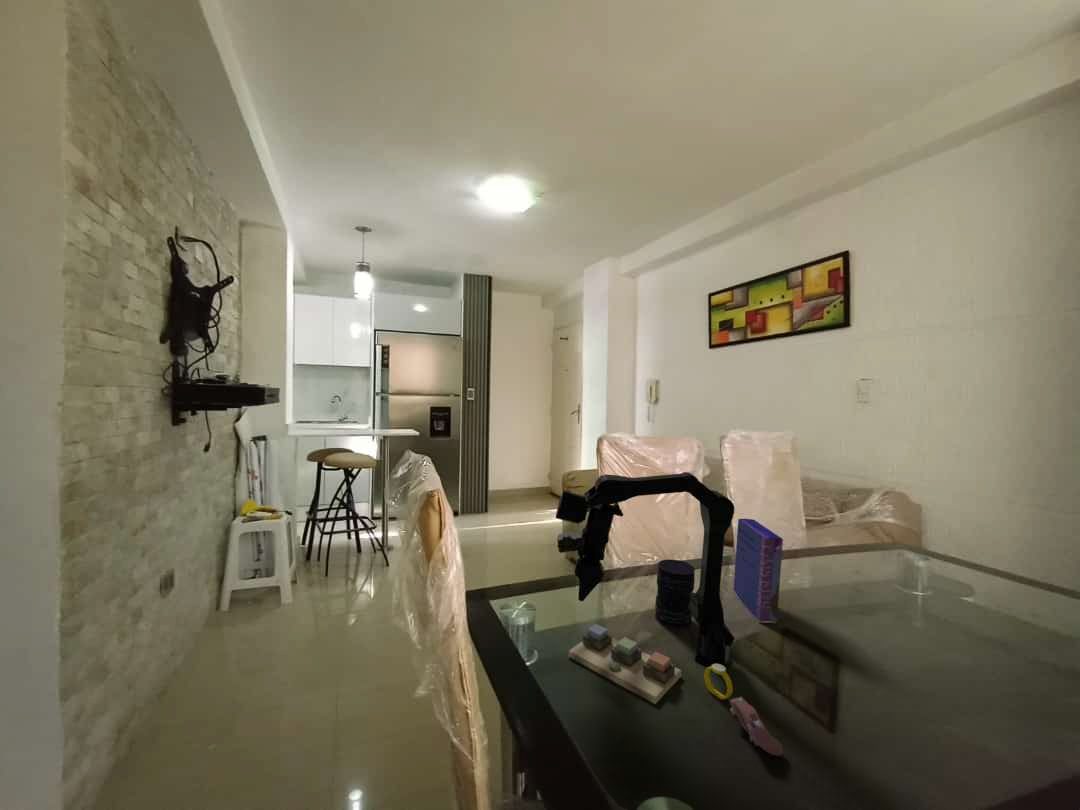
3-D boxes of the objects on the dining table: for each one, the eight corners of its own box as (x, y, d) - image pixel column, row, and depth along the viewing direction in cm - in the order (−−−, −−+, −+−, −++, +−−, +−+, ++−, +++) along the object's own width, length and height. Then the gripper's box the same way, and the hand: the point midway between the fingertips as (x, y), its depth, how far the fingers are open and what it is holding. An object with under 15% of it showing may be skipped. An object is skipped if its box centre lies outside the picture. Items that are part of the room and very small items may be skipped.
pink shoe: (735, 724, 89) (721, 694, 88) (755, 714, 89) (742, 683, 88) (764, 768, 79) (749, 734, 78) (787, 756, 79) (772, 722, 78)
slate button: (607, 637, 109) (607, 629, 109) (599, 643, 106) (599, 634, 106) (595, 631, 111) (595, 623, 111) (587, 637, 109) (587, 629, 108)
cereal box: (776, 623, 125) (783, 538, 123) (759, 623, 125) (765, 537, 123) (748, 594, 142) (753, 518, 141) (733, 593, 142) (738, 518, 141)
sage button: (636, 651, 104) (637, 643, 104) (629, 657, 101) (629, 649, 101) (624, 645, 106) (624, 637, 106) (616, 651, 103) (616, 642, 103)
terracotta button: (669, 667, 98) (670, 658, 98) (662, 674, 96) (663, 665, 96) (655, 660, 101) (655, 651, 100) (648, 667, 98) (648, 658, 98)
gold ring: (701, 690, 96) (701, 661, 96) (710, 685, 98) (710, 658, 98) (726, 705, 91) (726, 676, 91) (734, 701, 93) (734, 671, 93)
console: (680, 676, 100) (681, 661, 100) (655, 704, 91) (656, 687, 91) (597, 636, 114) (598, 623, 114) (568, 656, 105) (569, 642, 105)
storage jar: (696, 617, 126) (699, 565, 125) (686, 633, 118) (690, 577, 117) (660, 607, 131) (663, 556, 130) (649, 621, 123) (652, 567, 122)
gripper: (567, 509, 116) (552, 566, 117) (560, 531, 98) (543, 599, 99) (609, 521, 115) (594, 579, 116) (611, 545, 96) (593, 614, 97)
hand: (581, 591), depth 107 cm, fingers open, 9 cm apart
